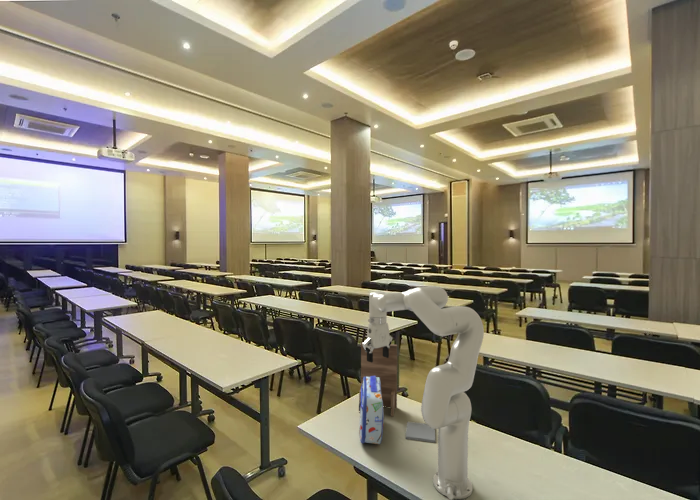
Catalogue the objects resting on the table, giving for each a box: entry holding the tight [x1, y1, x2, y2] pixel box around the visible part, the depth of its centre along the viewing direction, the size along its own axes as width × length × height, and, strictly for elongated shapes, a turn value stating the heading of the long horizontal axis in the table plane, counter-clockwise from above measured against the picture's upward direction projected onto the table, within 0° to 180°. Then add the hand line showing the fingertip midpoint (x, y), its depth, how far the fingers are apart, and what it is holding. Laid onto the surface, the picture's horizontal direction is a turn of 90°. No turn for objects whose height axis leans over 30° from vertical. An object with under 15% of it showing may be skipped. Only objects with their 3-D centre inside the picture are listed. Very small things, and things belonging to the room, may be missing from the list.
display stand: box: [358, 341, 398, 417], centre depth 163 cm, size 10×18×31 cm, turn 77°
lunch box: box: [358, 376, 385, 445], centre depth 144 cm, size 28×10×22 cm, turn 179°
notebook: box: [405, 421, 436, 443], centre depth 143 cm, size 12×12×2 cm
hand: (377, 359), depth 145 cm, fingers open, 9 cm apart
